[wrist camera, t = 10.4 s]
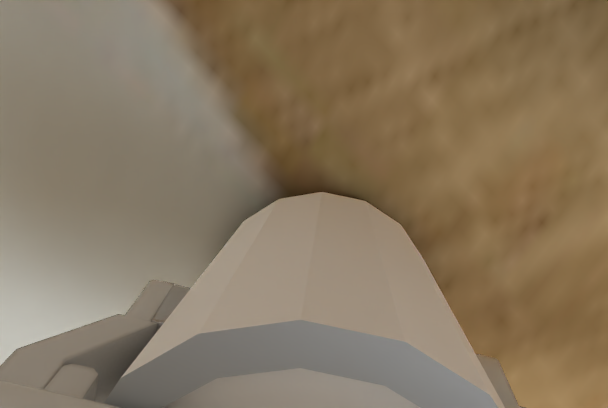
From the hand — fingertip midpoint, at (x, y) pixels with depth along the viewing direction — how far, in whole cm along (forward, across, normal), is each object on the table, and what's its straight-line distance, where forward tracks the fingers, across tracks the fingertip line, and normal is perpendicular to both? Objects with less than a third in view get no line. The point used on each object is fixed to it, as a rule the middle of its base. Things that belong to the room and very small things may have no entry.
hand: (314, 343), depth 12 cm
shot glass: (+3, 0, 0) cm, 3 cm away
